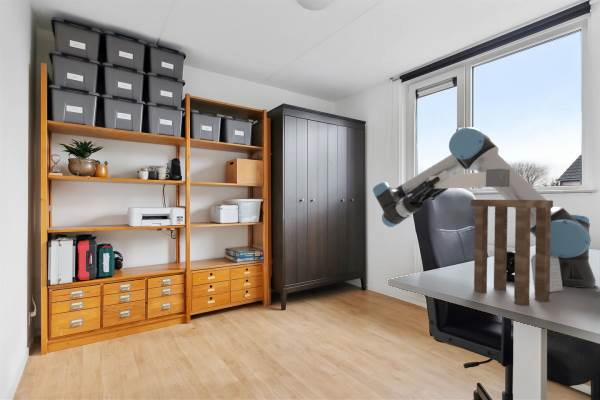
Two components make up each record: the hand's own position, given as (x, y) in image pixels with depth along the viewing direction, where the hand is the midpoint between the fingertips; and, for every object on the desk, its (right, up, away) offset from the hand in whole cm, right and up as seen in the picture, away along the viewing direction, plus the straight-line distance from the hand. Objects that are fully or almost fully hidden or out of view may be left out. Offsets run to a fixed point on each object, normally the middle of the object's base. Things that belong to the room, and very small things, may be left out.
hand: (451, 173), depth 110 cm
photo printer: (+24, -38, -13) cm, 47 cm away
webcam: (+20, -38, 0) cm, 43 cm away
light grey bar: (+2, -5, -5) cm, 7 cm away
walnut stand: (+7, -37, -19) cm, 42 cm away
